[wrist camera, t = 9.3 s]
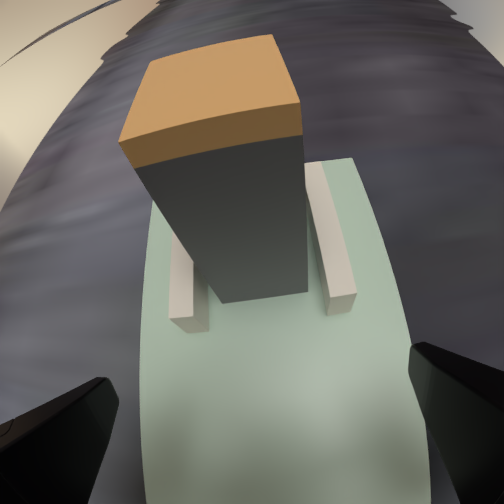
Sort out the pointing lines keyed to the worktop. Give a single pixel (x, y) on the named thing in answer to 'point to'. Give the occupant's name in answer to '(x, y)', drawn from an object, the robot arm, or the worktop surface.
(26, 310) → the worktop surface
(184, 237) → the plug
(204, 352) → the board
